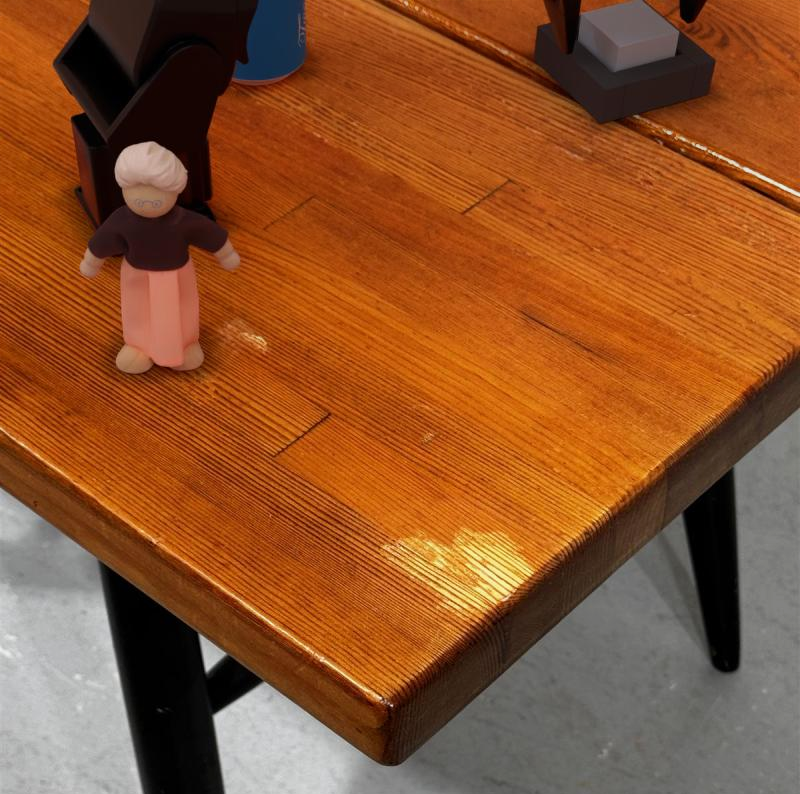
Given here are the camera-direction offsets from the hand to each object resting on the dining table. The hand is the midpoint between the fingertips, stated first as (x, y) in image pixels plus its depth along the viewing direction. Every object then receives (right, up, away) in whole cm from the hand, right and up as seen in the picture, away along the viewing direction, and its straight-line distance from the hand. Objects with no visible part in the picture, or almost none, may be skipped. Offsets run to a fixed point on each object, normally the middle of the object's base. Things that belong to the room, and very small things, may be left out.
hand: (626, 35), depth 93 cm
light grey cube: (0, -2, +2) cm, 3 cm away
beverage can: (-24, -1, +2) cm, 24 cm away
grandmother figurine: (-26, -22, -17) cm, 38 cm away
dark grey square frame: (0, -2, +2) cm, 3 cm away
